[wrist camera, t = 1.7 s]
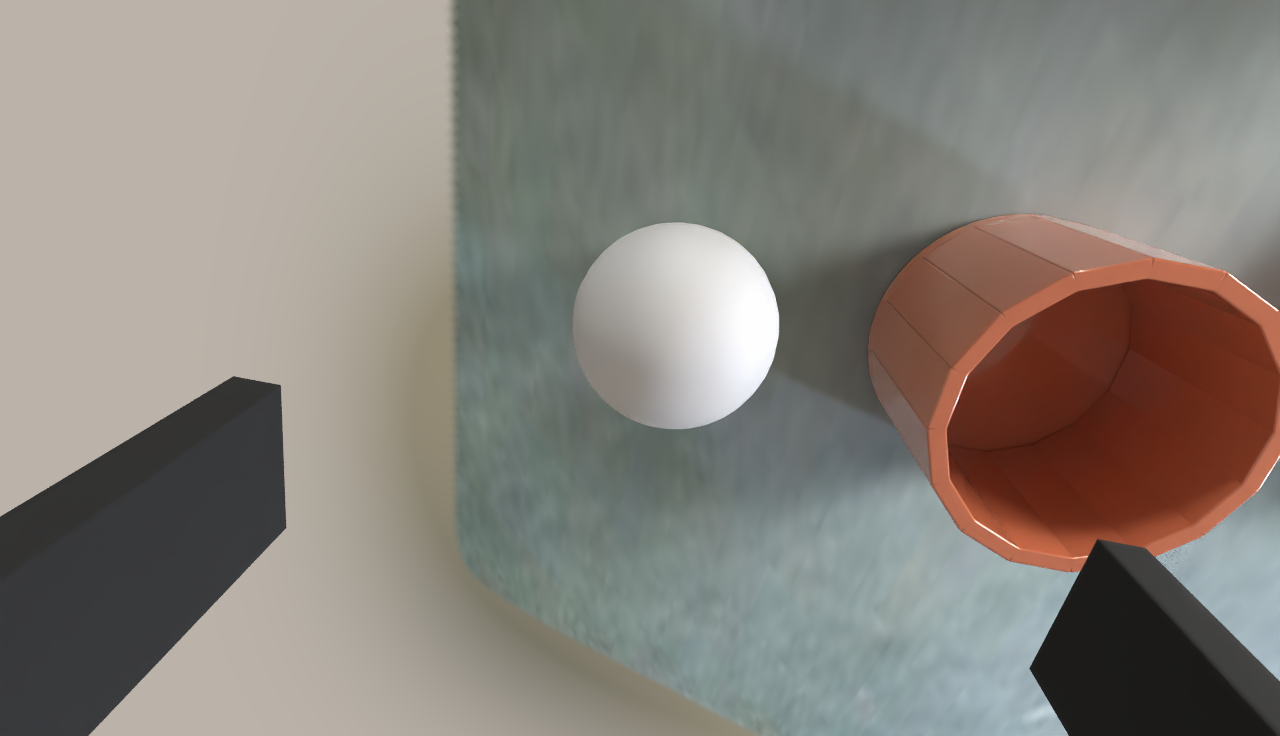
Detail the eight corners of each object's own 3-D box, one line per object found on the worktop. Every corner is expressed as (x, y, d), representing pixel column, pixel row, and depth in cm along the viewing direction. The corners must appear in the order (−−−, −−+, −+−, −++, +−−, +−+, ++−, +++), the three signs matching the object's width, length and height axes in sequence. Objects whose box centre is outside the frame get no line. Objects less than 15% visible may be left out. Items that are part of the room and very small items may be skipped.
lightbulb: (762, 190, 26) (806, 252, 16) (748, 338, 28) (779, 474, 18) (605, 184, 26) (551, 241, 16) (604, 331, 29) (556, 461, 19)
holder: (821, 308, 28) (868, 385, 20) (1071, 157, 25) (1231, 184, 17) (936, 490, 30) (1014, 617, 23) (1172, 374, 28) (1347, 476, 20)
